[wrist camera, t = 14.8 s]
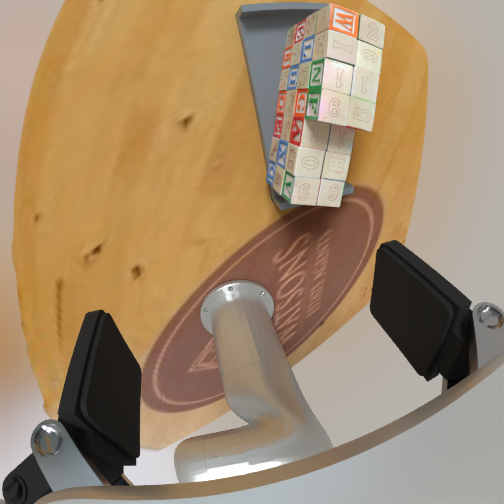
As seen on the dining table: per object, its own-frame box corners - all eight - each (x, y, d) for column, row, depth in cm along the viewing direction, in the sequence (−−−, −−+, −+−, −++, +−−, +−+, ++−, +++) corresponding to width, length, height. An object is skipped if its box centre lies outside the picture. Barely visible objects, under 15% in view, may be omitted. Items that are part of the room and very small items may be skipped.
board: (340, 184, 41) (353, 192, 38) (272, 200, 40) (280, 210, 37) (314, 10, 27) (327, 3, 24) (235, 14, 26) (241, 5, 23)
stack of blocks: (307, 185, 39) (353, 219, 28) (264, 181, 37) (298, 215, 27) (331, 40, 29) (387, 24, 18) (287, 27, 27) (332, 1, 17)
